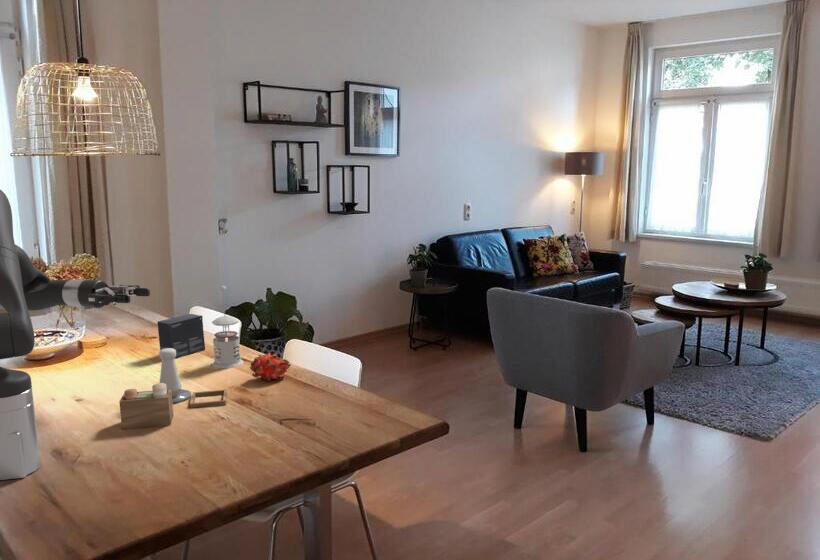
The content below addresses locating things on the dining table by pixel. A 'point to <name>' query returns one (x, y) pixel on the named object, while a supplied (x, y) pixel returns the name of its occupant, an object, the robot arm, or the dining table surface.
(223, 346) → the french press
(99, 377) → the dining table surface
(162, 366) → the salt shaker
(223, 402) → the holder
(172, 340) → the small box
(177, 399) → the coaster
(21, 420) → the robot arm
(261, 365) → the dragon fruit
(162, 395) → the caddy
